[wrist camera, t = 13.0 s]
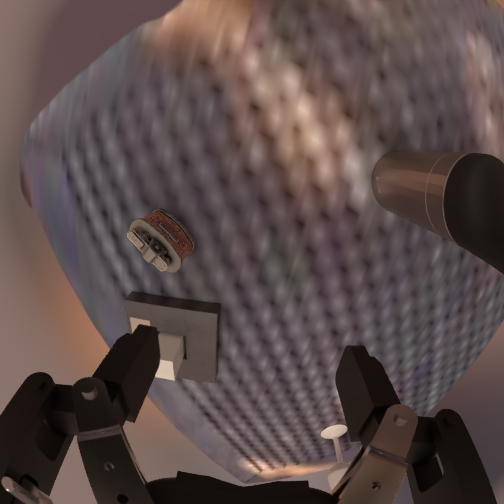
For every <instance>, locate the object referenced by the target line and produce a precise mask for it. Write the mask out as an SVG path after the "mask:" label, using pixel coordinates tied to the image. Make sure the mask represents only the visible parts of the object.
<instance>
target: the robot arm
mask: <svg viewBox="0 0 504 504" xmlns="http://www.w3.org/2000/svg"><path fill="white" fill-rule="evenodd" d="M372 186H373V191H374V194H375V197H376V199H377V201H378V202H379V203H380V204H381V206H382V207H384V208H385V209H386V210H388V211H390V212H393V213H395V214H397V215H399V216H401V217H403V218H405V219H407V220H409V221H411V222H414V223H416V224H418V225H420V226H422V227H424V228H426V229H428V230H430V231H432V232H434V233H436V234H438V235H440V236H442V237H444V238H446V239H448V240H450V241H452V242H453V243H455V244H457V245H459V246H461V247H463V248H465V249H466V250H468V251H470V252H471V253H472V254H474V255H476V256H477V257H479V258H480V259H482V260H484V261H485V262H487V263H488V264H490V265H491V266H493V267H494V268H496V269H497V270H498V271H500V272H501V273H503V274H504V164H503V162H501V161H500V160H499V159H497V158H496V157H494V156H492V155H488V154H479V153H463V152H426V151H402V152H391V153H388V154H386V155H384V156H383V157H382V158H381V159H380V160H379V161H378V163H377V164H376V166H375V168H374V171H373V176H372ZM160 357H161V355H160V347H159V338H158V330H157V328H156V327H153V326H148V325H143V324H139V325H138V326H137V327H136V329H135V330H134V332H133V333H132V334H130V333H126V334H125V335H123V336H122V337H120V338H119V339H118V340H117V341H116V342H115V344H114V345H113V348H111V349H110V351H109V352H108V354H107V355H106V357H105V358H104V359H103V361H102V363H101V364H100V365H99V367H98V368H97V370H96V371H95V373H94V374H93V376H92V377H85V378H82V379H80V380H78V381H77V382H75V384H74V385H73V386H72V385H60V384H55V383H54V381H53V379H52V377H51V376H50V375H49V374H47V373H44V372H37V373H33V374H31V375H30V376H29V377H27V379H26V380H25V381H24V382H23V384H22V385H21V386H20V388H19V389H18V391H17V392H16V393H15V395H14V396H13V398H12V399H11V401H10V402H9V404H8V405H7V406H6V408H5V410H4V411H3V412H2V414H1V415H0V504H53V502H52V500H51V499H50V498H49V496H50V493H51V490H52V488H53V485H54V482H55V480H56V477H57V475H58V472H59V470H60V467H61V465H62V463H63V460H64V458H65V456H66V453H67V451H68V449H69V446H70V444H71V442H72V440H73V438H74V436H75V435H77V442H78V447H79V450H80V454H81V457H82V461H83V464H84V468H85V471H86V474H87V477H88V480H89V483H90V486H91V488H92V491H93V494H94V496H95V499H96V501H97V504H392V502H393V500H394V498H395V496H396V494H397V492H398V489H399V487H400V485H401V483H402V480H403V478H404V476H405V473H406V472H407V476H408V480H409V484H410V488H411V492H412V497H413V501H414V504H497V502H496V499H495V496H494V493H493V490H492V487H491V485H490V482H489V479H488V477H487V474H486V472H485V469H484V466H483V464H482V462H481V459H480V457H479V455H478V452H477V450H476V448H475V446H474V444H473V441H472V439H471V437H470V435H469V433H468V431H467V429H466V427H465V424H464V422H463V420H462V419H461V417H460V415H459V414H458V413H457V412H455V411H453V410H451V409H443V410H441V411H439V412H438V413H437V415H436V416H435V417H434V418H431V417H420V416H417V414H416V412H415V411H414V410H413V409H412V408H410V407H409V406H406V405H403V404H401V403H400V401H399V399H398V396H397V394H396V392H395V390H394V388H393V386H392V384H391V382H390V381H389V378H388V376H387V374H386V372H385V370H384V368H383V366H382V364H381V363H380V362H379V361H378V360H377V359H376V358H375V357H370V356H369V354H368V352H367V350H366V348H365V346H363V345H361V346H351V345H348V346H346V348H345V350H344V353H343V355H342V358H341V361H340V364H339V366H338V369H337V372H336V378H335V381H336V387H337V390H338V394H339V397H340V401H341V405H342V408H343V412H344V416H345V420H346V423H347V427H348V431H349V435H350V439H351V442H356V441H361V443H362V446H361V448H360V449H359V451H358V453H357V454H356V456H355V458H354V459H353V461H352V463H351V464H350V466H349V467H348V469H347V471H346V472H345V474H344V475H343V477H342V478H341V480H340V481H339V482H338V484H337V485H336V486H335V487H334V489H333V490H332V491H331V492H330V494H329V493H327V492H324V491H322V490H319V489H315V488H310V487H309V483H308V481H276V482H271V483H265V484H260V485H254V486H247V487H242V486H238V485H234V484H231V483H228V482H225V481H221V480H219V479H216V478H213V477H210V476H203V475H197V474H192V473H186V472H181V471H178V472H177V477H176V478H163V479H158V480H154V481H150V482H148V481H147V479H146V478H145V475H144V474H143V472H142V470H141V468H140V466H139V464H138V462H137V460H136V458H135V455H134V453H133V451H132V449H131V447H130V444H129V442H128V440H127V437H126V434H125V432H124V429H123V425H124V423H125V421H126V420H127V421H130V422H133V423H135V421H136V418H137V416H138V414H139V411H140V409H141V407H142V404H143V402H144V399H145V397H146V395H147V393H148V390H149V388H150V386H151V384H152V381H153V379H154V377H155V375H156V372H157V370H158V368H159V365H160ZM437 455H439V457H440V460H441V463H442V466H443V469H444V474H443V475H442V472H441V469H440V466H439V464H438V461H437V458H436V456H437Z"/></svg>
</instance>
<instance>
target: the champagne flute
mask: <svg viewBox="0 0 504 504" xmlns="http://www.w3.org/2000/svg"><path fill="white" fill-rule="evenodd" d="M346 431H347V427H346V426H345V425H334V426H330V427H328V428H326V429H325V430H323V431H322V433H321V436H322V437H323V438H326V439H333V440H334V445H335V450H336V455H337V461H338V464H336V465H335V466H334V467H333V468H332V469H331V471H330V472H329V474H328V481H329V484H330V488H331V491H332V490H333V489H334V487H335V486H336V485H337V484H338V482H339V481H340V480H341V478H342V477H343V475H344V474H345V472H346V471H347V469H348V467H349V466H350V464H349V463H346V462H343V459H342V454H341V450H340V445H339V440H338V437H340V436H341V435H343V434H344V433H345V432H346Z"/></svg>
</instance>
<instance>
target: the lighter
mask: <svg viewBox="0 0 504 504" xmlns="http://www.w3.org/2000/svg"><path fill="white" fill-rule="evenodd" d="M127 237H128V238H129V239H130V240H131V241H132V242H133V243H134V245H135V246H136V247H137V248H138V249H139V250H140V251H141V252H142V255H143V258H144V259H145V260H146V261H147V262H148V263H152V264H154V265H155V266H156V267H157V268H158V269H159V270H160V271H164V270H166V271H168V272H176V271H177V270H178V269H179V268H180V267H181V265H182V262H183V260H184V259H185V258H186V256H187V255H188V254H189V253H191V252H192V250H193V249H194V247H195V241H194V239H193V238H192V236H191V235H190V234H189V232H188V231H187V230H186V228H185V227H184V226H183V225H182V224H181V223H180V222H179V221H178V220H177V219H176V218H175V217H174V216H173V215H171V214H170V213H168V212H167V211H165V210H164V209H157V210H155V211H153V212H152V213H151V214H149V215H148V216H146V217H144V218H139V219H137V220H135V221H134V222H133V223H132V224H131V226H130V230H129V231H128V233H127Z"/></svg>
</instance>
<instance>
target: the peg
mask: <svg viewBox="0 0 504 504" xmlns="http://www.w3.org/2000/svg"><path fill="white" fill-rule="evenodd" d="M158 338H159V347H160V355H161V357H160V365H159V368H158V370H157V372H156V375H155V377H159V378H164V379H169V380H174V381H175V378H176V376H177V373H178V370H179V367H180V365H181V362H182V359H183V357H184V354H185V351H186V336H184V335H178V334H172V333H166V332H160V333H159V335H158Z"/></svg>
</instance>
